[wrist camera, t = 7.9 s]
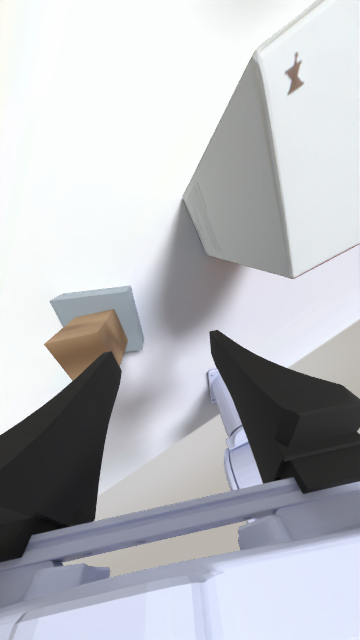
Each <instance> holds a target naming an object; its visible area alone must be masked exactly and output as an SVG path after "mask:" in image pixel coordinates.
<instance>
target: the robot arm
mask: <svg viewBox="0 0 360 640" xmlns="http://www.w3.org/2000/svg"><path fill="white" fill-rule="evenodd" d="M210 345H211V354H212V357H213V360H214V362H215V365H216V367H217V369H215V370H210V371H209V372H208V378H209V388H210V398H211V404H217V406H218V409H219V412H220V415H221V418H222V421H223V424H224V427H225V430H226V433H227V435H228V437H229V438H228V439H226V442H227V445H228V448H227V449H226V450H225V454H224V468H225V473H226V477H227V481H228V484H229V487H230V490H231V491H229V492H224V493H220V494H215V495H211V496H206V497H202V498H197V499H193V500H188V501H184V502H179V503H175V504H171V505H166V506H162V507H157V508H153V509H148V510H143V511H139V512H134V513H130V514H126V515H121V516H116V517H112V518H108V519H103V520H99V521H94V519H95V512H96V503H97V494H98V485H99V477H100V470H101V463H102V456H103V450H104V444H105V439H106V434H107V429H108V424H109V420H110V416H111V413H112V409H113V406H114V402H115V399H116V396H117V392H118V389H119V385H120V379H121V372H122V371H121V369H120V367H119V365H118V363H117V361H116V359H115V357H114V355H113V353H112V351H110V352H105V353H102V354H101V355H100V356H99V357H98V358H97V359H96V360H95V361H94V362H93V363H91V364H90V365H89V366H88V367H87V368H86V369H85V370H84V371H83V372H82V373H81V374H80V375H79V376H78V377H77V378H76V379H74V380H73V381H72V382H71V383H70V384H69V385H68V386H67V387H66V388H64V389H63V390H62V391H61V392H60V393H58V394H57V395H56V396H55V397H54V398H52V399H51V400H50V401H48V402H47V403H46V404H45V405H43V406H42V407H41V408H39V409H38V410H36V411H35V412H34V413H32V414H31V415H30V416H28V417H27V418H25V419H24V420H23V421H21V422H20V423H18V424H17V425H15V426H14V427H12V428H11V429H9V430H8V431H6V432H5V433H3V434H2V435H0V640H360V434H359V433H358V432H357V430H358V429H359V428H360V399H359V398H358V397H357V396H355V395H354V394H353V393H351V392H350V391H349V390H348V389H346V388H345V387H344V386H342V385H340V384H336V383H332V382H329V381H326V380H322V379H318V378H315V377H311V376H308V375H305V374H302V373H299V372H296V371H293V370H290V369H288V368H285V367H283V366H280V365H278V364H275V363H273V362H271V361H268V360H266V359H264V358H262V357H260V356H258V355H256V354H254V353H252V352H250V351H249V350H247V349H245V348H243V347H242V346H240V345H239V344H237V343H236V342H234V341H233V340H231V339H230V338H228V337H227V336H225V335H224V334H223V333H221V332H220V331H218V330H215V331H210ZM93 521H94V522H93ZM242 521H246V522H247V524H246V525H243V526H240V527H239V529H238V533H239V539H238V542H239V546H240V550H241V551H235V552H230V553H225V554H219V555H214V556H208V557H203V558H198V559H193V560H188V561H182V562H178V563H172V564H168V565H163V566H159V567H154V568H150V569H144V570H140V571H136V572H131V573H127V574H123V575H118V576H114V577H110V578H109V576H110V568H109V567H92V566H88V565H86V564H75V565H67V566H63V564H62V562H67V561H71V560H75V559H80V558H84V557H89V556H93V555H97V554H102V553H106V552H110V551H115V550H119V549H124V548H128V547H132V546H137V545H141V544H145V543H150V542H154V541H159V540H163V539H168V538H172V537H176V536H181V535H185V534H190V533H194V532H198V531H202V530H207V529H211V528H216V527H220V526H224V525H229V524H233V523H238V522H242Z"/></svg>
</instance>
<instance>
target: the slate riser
mask: <svg viewBox="0 0 360 640" xmlns="http://www.w3.org/2000/svg"><path fill="white" fill-rule="evenodd" d="M50 303H51V305H52V307H53V309H54V310H55V312H56V314H57V316H58V318H59V320H60V322H61V323H62V325H63V327H65V326H66V325H67V324H68V323H69V322H70V321H72V320H73V319H74V318H75V317H80V316H84V315H89V314H93V313H98V312H102V311H107V310H111V309H114V310H115V312H116V314H117V316H118V319H119V321H120V323H121V325H122V328H123V330H124V332H125V334H126V337H127V339H128V343H127V346H126V349H125V352H129V351H136V350H142V348H143V342H144V337H143V333H142V329H141V325H140V321H139V317H138V313H137V309H136V305H135V301H134V297H133V293H132V289H131V286H124V287H115V288H107V289H98V290H90V291H82V292H73V293H65V294H62V295H60V296H58V297H56V298H54V299H52V300H50Z"/></svg>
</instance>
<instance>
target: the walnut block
mask: <svg viewBox="0 0 360 640" xmlns="http://www.w3.org/2000/svg"><path fill="white" fill-rule="evenodd" d="M127 343H128V339H127V337H126V334H125V332H124V330H123V328H122V325H121V323H120V321H119V319H118V316H117V314H116V312H115V310H114V309H111V310H107V311H102V312H98V313H93V314H89V315H84V316H80V317H75V318H74V319H73V320H72V321H70V322H69V323H68V324H67V325H66V326H65V327H63V328H62V329H61V330H60V331H59V332H58V333H57V334H55V335H54V336H53V337H52V338H51V339H50V340H49V341H47V342H46V343H45V344H44V345H45V346H46V348H47V349H48V350H49V351H50V353H51V354H52V355H53V356H54V358H55V359H56V360H57V361H58V363H59V364H60V365H61V366H62V368H63V369H64V370H65V372H66V373H67V374H68V375H69V377H70V378H71V379H72V380H74V379H76V378H77V377H78V376H79V375H80V374H81V373H82V372H83V371H84V370H85V369H86V368H87V367H88V366H89V365H90V364H91V363H93V362H94V361H95V360H96V359H97V358H98V357H99V356H100V355H101V354H102V353H105V352H110V351H112V353H113V355H114V357H115V359H116V361H117V363H118V365H119V366H120V364H121V361H122V358H123V355H124V352H125V349H126V346H127Z"/></svg>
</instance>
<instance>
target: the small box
mask: <svg viewBox="0 0 360 640" xmlns="http://www.w3.org/2000/svg"><path fill="white" fill-rule="evenodd" d="M183 199H184V202H185V204H186V206H187V209H188V211H189V213H190V216H191V218H192V221H193V223H194V225H195V228H196V230H197V232H198V235H199V237H200V240H201V242H202V245H203V247H204V249H205V252H206V254H207V255H208V256H212V257H215V258H219V259H222V260H226V261H230V262H233V263H237V264H241V265H244V266H248V267H252V268H255V269H259V270H263V271H266V272H270V273H273V274H277V275H281V276H284V277H288V278H291V279H294V278H297V277H298V276H300V275H302V274H304V273H306V272H308V271H310V270H311V269H313V268H315V267H317V266H319V265H321V264H323V263H325V262H327V261H329V260H330V259H332V258H334V257H336V256H338V255H340V254H342V253H344V252H346V251H348V250H349V249H351V248H353V247H355V246H357V245H359V244H360V0H316V1H315V2H314V3H313V4H312V5H310V6H309V7H308V8H307V9H306V10H305V11H303V12H302V13H301V14H300V15H299V16H297V17H296V18H295V19H293V20H292V21H291V22H289V23H288V24H287V25H285V26H284V27H283V28H282V29H280V30H279V31H278V32H277V33H275V34H274V35H273V36H272V37H270V38H269V39H268V40H266V41H265V42H264V43H262V44H261V45H260V46H259V47H258V48H257V49H256V50H255V51H254V53H253V55H252V57H251V59H250V61H249V63H248V65H247V67H246V69H245V71H244V73H243V75H242V77H241V79H240V81H239V83H238V85H237V87H236V89H235V91H234V93H233V95H232V97H231V99H230V101H229V104H228V106H227V108H226V110H225V112H224V114H223V116H222V118H221V120H220V122H219V124H218V126H217V128H216V130H215V132H214V134H213V136H212V138H211V140H210V142H209V144H208V146H207V148H206V150H205V152H204V154H203V156H202V158H201V160H200V162H199V164H198V166H197V169H196V171H195V173H194V175H193V177H192V179H191V181H190V183H189V185H188V187H187V188H186V190H185V192H184V194H183Z"/></svg>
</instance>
